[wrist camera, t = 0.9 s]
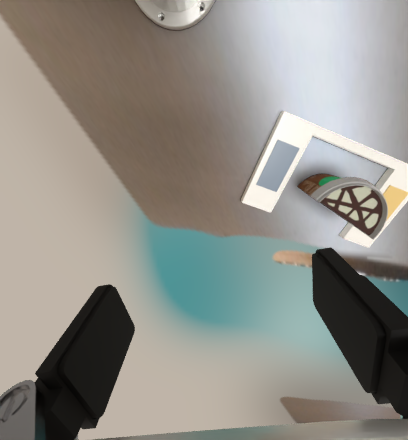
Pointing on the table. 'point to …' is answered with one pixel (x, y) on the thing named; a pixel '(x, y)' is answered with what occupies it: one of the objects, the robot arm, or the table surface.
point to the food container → (350, 200)
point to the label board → (290, 155)
